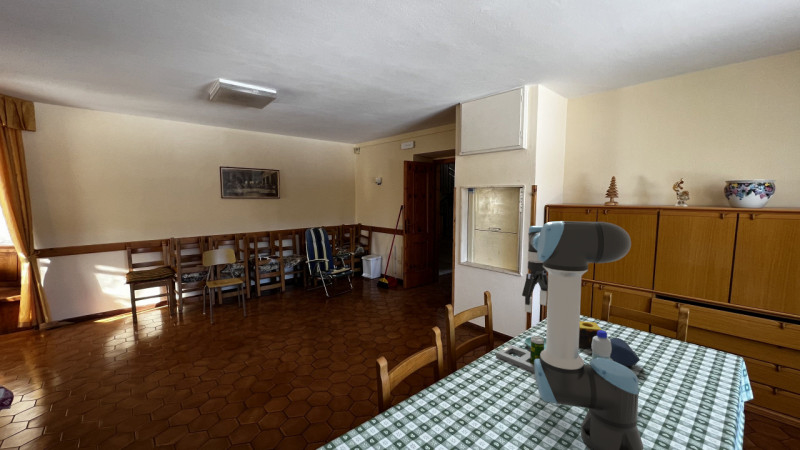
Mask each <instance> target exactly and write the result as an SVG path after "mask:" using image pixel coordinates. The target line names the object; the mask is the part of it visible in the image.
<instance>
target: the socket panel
mask: <svg viewBox="0 0 800 450" xmlns="http://www.w3.org/2000/svg"><path fill="white" fill-rule="evenodd" d="M511 353H514V354H516V355H518V356H520V357H519V358H518V357H516V356H514V355H512V354H511ZM495 358H499V359H501V360H502V361H505V362H507V361H508V363H510V364H512V365H515V366H517V367H520V368H522V369H525V370H526V371H528V372H532V373H534V374H535V368H534V364H531V363H530V351H529V350H526V349H523V348H520V347H518V346H515V345H513V344H509V345H506V346H505V347H503V348H501V349H500V350H498V351H497V352H496V351H495Z"/></svg>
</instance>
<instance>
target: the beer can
mask: <svg viewBox="0 0 800 450" xmlns="http://www.w3.org/2000/svg"><path fill="white" fill-rule="evenodd" d="M530 337H531V348H530V351H529V352H530V362H529V363H531V364H534V360H535V359H540V354H541V352H542V351H543V350H544V339H543V338H544V337H543V338H541V336H537V335H536V336H530Z"/></svg>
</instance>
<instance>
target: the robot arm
mask: <svg viewBox="0 0 800 450" xmlns="http://www.w3.org/2000/svg"><path fill="white" fill-rule="evenodd" d="M527 236H528V252H527V260H528V261H527V270H529V271H530V273H526V276H525V277H526V278H525V280H524V281H525V282H524V286H523V290H522V294H521V296H522V297H524V312H527V313H530V314H531V313H533V312H532V311H533V305H532V304H533V297H532V295H533V292H534V289H535V287H536V285H539V288H540V290H539V305H542V306H546V311H547V312H546V336H545V338H546V349H545V350H543V351H542V352H541V354H540V359H535V360H534V368H535V373H534V375H535V383H536V386H537V390H538V396H539V397H540V399H541V400H542V401H544V402H546V403H551V404H555V405H556V406H557V405H562V406H563V405H564V406H569V407H578V408H585V409H588V410H587V412H586V414H585V415H584V418H583V420H582V422H581V426H580V436H581V439H582V441H583V442H584V444H585V445H586V446H588V448H590V450H644V444H643V441H642V437H641V434H640V431H639V427H638V426H637V424H638V423H637V422H638V410H639V395H640V388H639V386H640V385H639V378H638V376H637V374H636V373H635V372H633V370H632V369H630V368H629V367H628V366H624V365H622V364H619V363H617V362H615V361H613V360H612V359H610V360H608V359H604V358H595V359H592V358H591V360H590V361H589V364H585V361H584V359H583V358H582V357H581V356H580V355H579V352H580V351H579V349H580V348H579V326H580V321H581V300H582V299H581V298H582V297H581V295H582V277H583V275H584V274H585V273H587V272H588V271H589V264H606V263H612V262H613V263H614V262H616V261H619V260H621V259H623V258H624V257H626V255H628V253H629V252H630V249H631V247H632V241H631V237H630V234H629V233H628V232H627V231H626V230H625V229H624V228H623V227H621V226H619V225H616V224H615V223H610V222H605V221H571V220H570V221H564V220H560V221H549V222H548V221H547V222H546V223H544V224H543V225H542V226H541V225H531V226H529V228H528V235H527ZM547 273H548V274H547Z"/></svg>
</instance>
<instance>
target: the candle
mask: <svg viewBox="0 0 800 450" xmlns="http://www.w3.org/2000/svg"><path fill="white" fill-rule="evenodd" d="M599 330H602V328H601V327H600V326H599V325H598V323H597V322H594V321H593V322H592V321H585V320H584V321H583V320H580V326H579V349H589V350H592V345H591V344H592V340H593V337H594V336H597V331H599Z"/></svg>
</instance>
